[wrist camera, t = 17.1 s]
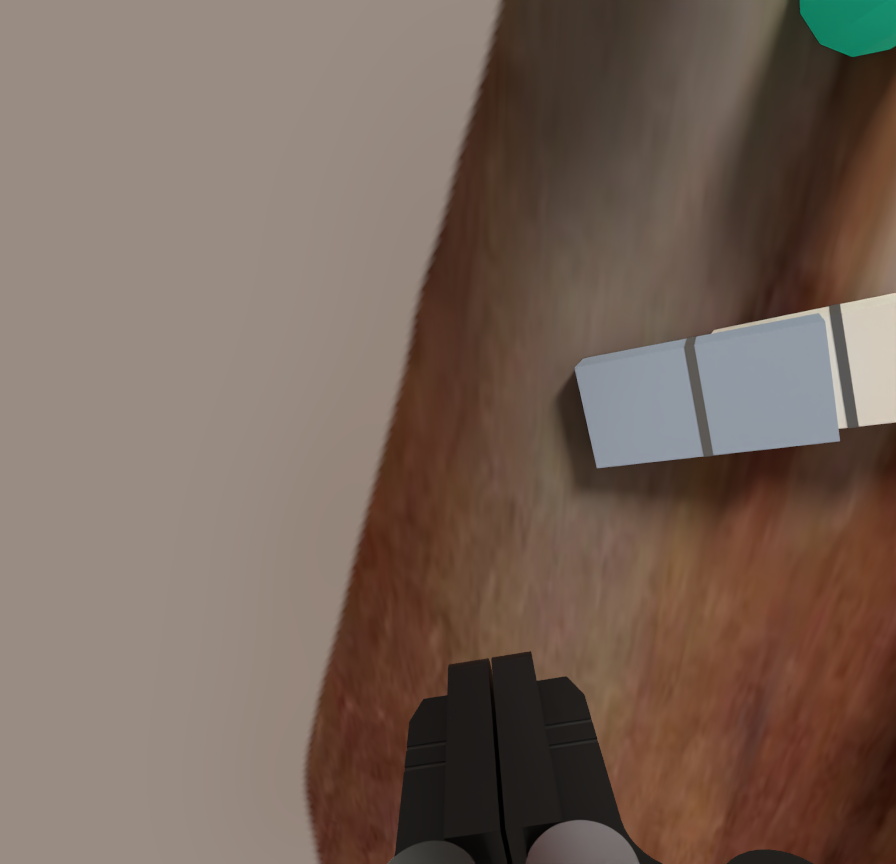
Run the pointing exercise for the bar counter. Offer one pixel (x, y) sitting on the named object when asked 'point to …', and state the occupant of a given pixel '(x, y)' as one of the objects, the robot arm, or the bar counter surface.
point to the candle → (852, 24)
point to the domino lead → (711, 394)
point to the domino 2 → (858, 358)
